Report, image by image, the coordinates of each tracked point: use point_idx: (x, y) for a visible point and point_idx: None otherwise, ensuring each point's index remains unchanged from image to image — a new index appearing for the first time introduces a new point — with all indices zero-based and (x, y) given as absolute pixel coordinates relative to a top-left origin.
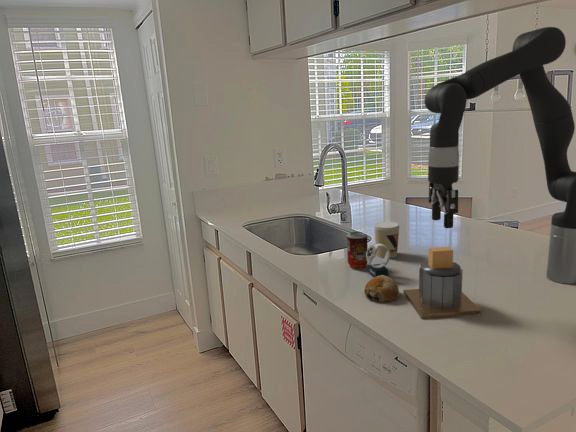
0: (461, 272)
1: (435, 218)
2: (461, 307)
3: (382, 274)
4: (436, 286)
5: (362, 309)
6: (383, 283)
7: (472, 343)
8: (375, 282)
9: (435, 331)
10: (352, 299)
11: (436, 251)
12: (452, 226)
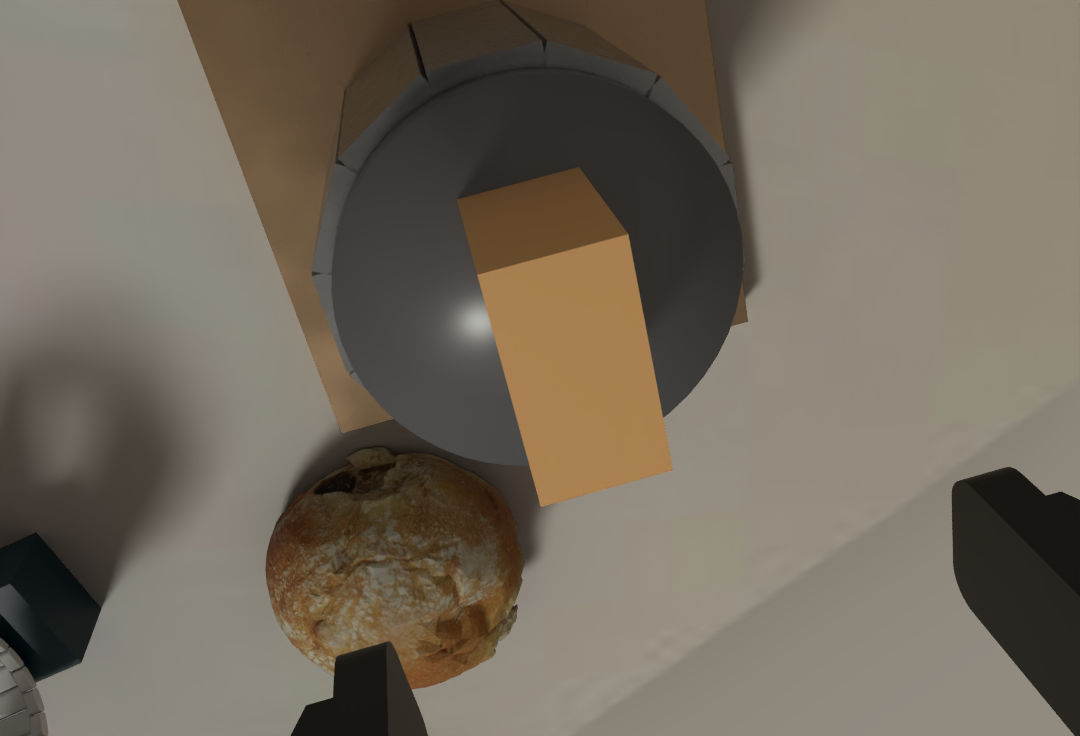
0: (616, 65)
1: (420, 730)
2: (636, 23)
3: (56, 592)
4: None
5: (617, 624)
6: (459, 609)
7: (1064, 27)
8: (457, 659)
9: (902, 234)
10: (481, 690)
11: (662, 428)
12: (1016, 479)
